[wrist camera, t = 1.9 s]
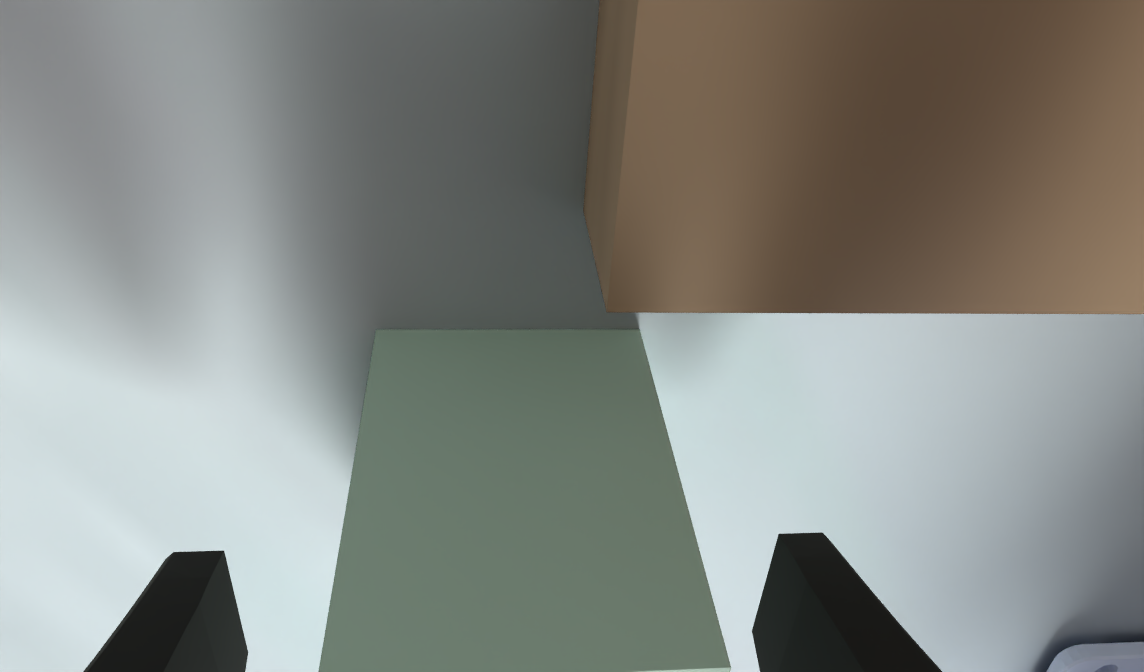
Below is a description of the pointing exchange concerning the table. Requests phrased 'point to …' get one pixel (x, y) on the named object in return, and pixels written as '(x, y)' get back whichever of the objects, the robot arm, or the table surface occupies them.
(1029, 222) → the walnut plinth
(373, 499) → the green block
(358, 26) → the table surface
